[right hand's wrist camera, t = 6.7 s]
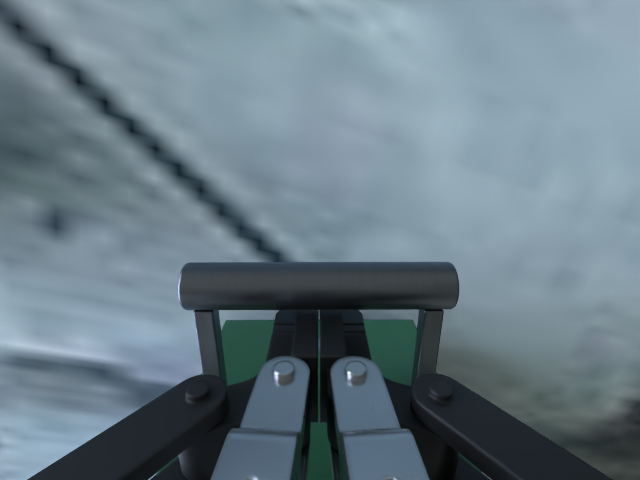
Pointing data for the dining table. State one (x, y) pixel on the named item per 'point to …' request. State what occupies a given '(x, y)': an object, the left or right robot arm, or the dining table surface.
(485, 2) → the dining table surface
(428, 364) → the drawer
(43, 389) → the dining table surface
